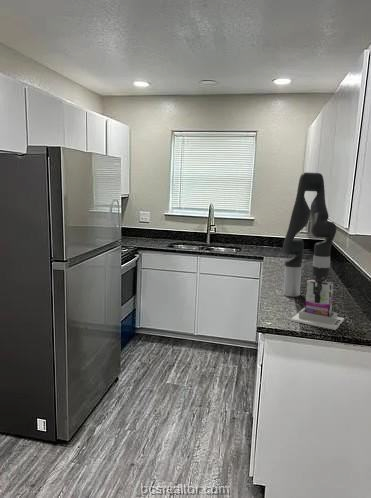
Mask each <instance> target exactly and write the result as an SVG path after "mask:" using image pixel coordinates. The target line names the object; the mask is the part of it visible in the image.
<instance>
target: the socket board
mask: <svg viewBox="0 0 371 498" xmlns="http://www.w3.org/2000/svg"><path fill="white" fill-rule="evenodd" d="M344 321H345V318H344V317H341V316H338V312H335V311H332V313H331V317H328V316H323V315H317V314H312V313H307V312H305V306H304V307H303V308H301V310H299V312H298V313H297V314H295V315H294V316H293V317H291V318H290V322H295V323H298V324H299V323H300V324H304V325H309V326H314V327H317V328H318V327H319V328H322V329H328V330H334V331H337V330H336V329H339V327H340V326H341V325H342V323H343V322H344ZM340 324H341V325H340Z"/></svg>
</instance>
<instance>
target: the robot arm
mask: <svg viewBox="0 0 371 498" xmlns="http://www.w3.org/2000/svg"><path fill="white" fill-rule="evenodd" d="M306 192H316V195H315V197H314V198H313V200H312V202H311V205H310V207H309V205H308V202H307V200H306V197H305V194H306ZM325 192H326V191H325V181H324V176H323V174H322V173H320V172H301V174H300V176H299V180H298V186H297V191H296V195H295V196H296V197H295V201H294V205H293V209H292V212H291V215H290V219H289V225H288V229H287V232H286V235H285V237H284V240H283V244H282V251H283V253H284V254H285V255H294V256H293V257H291V258H288V259H286V260H285V261H284V276H283V277H284V278H283V292H282V293H283V295H284V296H287V297H290V298H291V297H292V298H293V297H294V298H295V297H297V298H298V297H300V295H301V294H300V292H301V280H302V278H301V277H302V263H303V254H304V240H303V239H302V238H297V237H296V235H297V234H299V233H300V231H302V230H303V229H304V228H305V227H306V226H307V225H308V224H309V219H310V217H311V216H312V223H311V231H310V232H311V235H312V237H315V238H324V240H323V241H319V242H316V243H315V244H314V247H313V250H314V251H313V258H312V268H311V269H312V271H311V274H312V276H314V277H315V279H314V280H315V282H314V283H313V294H315V303H320V295H321V290H322V285H321V283H324V282H325V281H327V280H328V278H327V277H329V276H330V273H331V271H330V270H331V251H332V250H331V249H332V245H333V241H334V238H335V236H336V233H337V226H336V224H335V223H334V222H333V221H332V222H331V221H328V220H329V212H328V208H327V205H326V195H325ZM320 287H321V288H320ZM316 290H318V292H316Z"/></svg>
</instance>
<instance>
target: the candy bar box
mask: <svg viewBox="0 0 371 498" xmlns="http://www.w3.org/2000/svg"><path fill="white" fill-rule="evenodd" d="M315 280H316V279H312V278H311V279H309V278H308V280H306V286H305V304H304V307H305V312H307V313H312V314H317V315H323V316H328V317H331V313H332V312H333V310H332V309H333V294H334V293H333V292H334V281H327V280H326V281H325V282H324V283H321V285H322V290H321V295H320V303H315V294H313V283H314V282H315ZM320 288H321V287H320ZM316 292H318V290H316Z"/></svg>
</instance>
